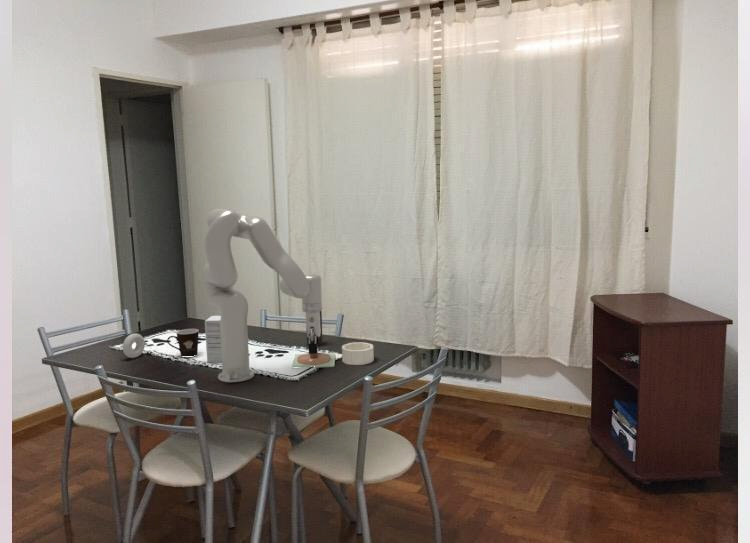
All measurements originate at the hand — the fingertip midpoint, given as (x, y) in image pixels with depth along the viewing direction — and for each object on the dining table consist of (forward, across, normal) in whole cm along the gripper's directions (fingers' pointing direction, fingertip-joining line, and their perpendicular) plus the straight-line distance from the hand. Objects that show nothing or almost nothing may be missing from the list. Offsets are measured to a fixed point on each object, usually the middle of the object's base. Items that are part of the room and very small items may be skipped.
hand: (313, 349), depth 226 cm
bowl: (+4, -1, -17) cm, 18 cm away
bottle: (+5, +24, +1) cm, 24 cm away
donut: (+5, +13, +73) cm, 74 cm away
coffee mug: (+5, +14, +53) cm, 55 cm away
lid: (+4, 0, 0) cm, 4 cm away
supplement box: (+5, +7, +37) cm, 38 cm away
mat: (+4, 0, 0) cm, 4 cm away
